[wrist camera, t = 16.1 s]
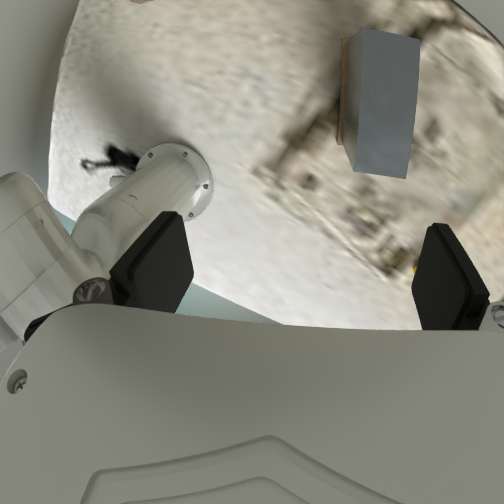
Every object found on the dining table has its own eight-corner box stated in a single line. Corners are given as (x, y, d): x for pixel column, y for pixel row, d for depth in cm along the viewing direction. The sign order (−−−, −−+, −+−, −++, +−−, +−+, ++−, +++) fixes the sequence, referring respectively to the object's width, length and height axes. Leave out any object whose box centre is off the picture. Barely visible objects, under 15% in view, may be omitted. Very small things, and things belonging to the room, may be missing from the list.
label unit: (336, 143, 36) (347, 176, 25) (341, 38, 28) (356, 21, 17) (382, 149, 35) (410, 185, 24) (390, 46, 27) (426, 36, 16)
